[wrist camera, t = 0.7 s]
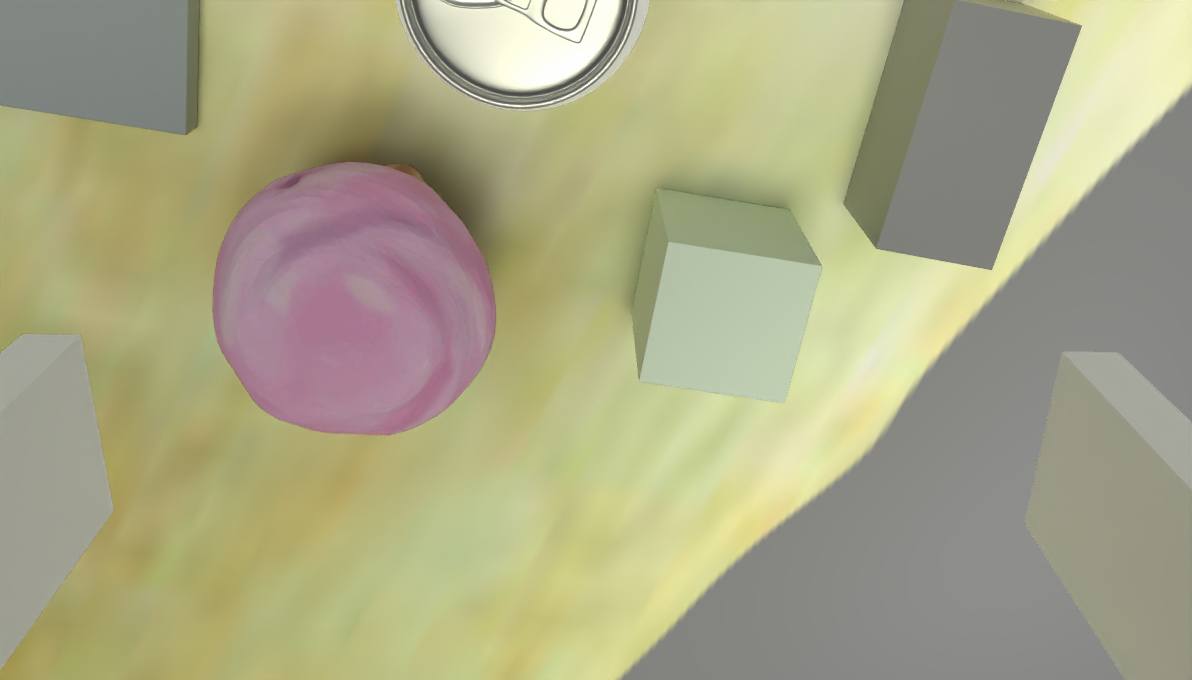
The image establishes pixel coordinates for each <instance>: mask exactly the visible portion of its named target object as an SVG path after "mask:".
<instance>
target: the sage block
mask: <svg viewBox="0 0 1192 680" xmlns="http://www.w3.org/2000/svg"><path fill="white" fill-rule="evenodd" d="M821 268H822V265H821V263H820V262H819V260H818V258H817V256H816V255H815V253H814V251H813V250H812V248H811V246H810V244H809V243H808V241H807V239H806V237H805V236H804V234H803V232H802V230H801V229H800V227H799V225H798V223H797V222H796V220H795V218H794V217H793V215H792V213H791V211H790V210H789V209H783V208H777V207H771V206H765V205H758V204H752V203H746V202H740V201H734V200H728V199H722V198H716V197H709V196H703V195H697V194H691V193H685V192H679V191H673V190H667V189H660V188H656V193H655V198H654V203H653V208H652V213H651V218H650V223H649V228H648V232H647V237H646V242H645V247H644V252H643V257H642V262H641V267H640V272H639V277H638V282H637V287H636V292H635V297H634V302H633V307H632V321H633V331H634V340H635V349H636V358H637V367H638V376H639V382H643V383H650V384H657V385H664V386H671V387H677V388H684V389H691V390H698V391H704V392H711V393H718V394H725V395H731V396H738V397H745V398H752V399H758V400H765V401H772V402H779V403H785V400H786V397H787V393H788V389H789V386H790V382H791V378H792V375H793V371H794V367H795V364H796V360H797V356H798V353H799V349H800V345H801V342H802V338H803V334H804V331H805V327H806V323H807V320H808V316H809V312H810V309H811V305H812V301H813V298H814V294H815V290H816V287H817V283H818V279H819V276H820V272H821Z"/></svg>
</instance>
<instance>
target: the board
mask: <svg viewBox="0 0 1192 680" xmlns="http://www.w3.org/2000/svg"><path fill="white" fill-rule="evenodd" d="M199 6H200V0H0V105H2V106H8V107H15V108H21V109H27V110H33V111H39V112H45V113H52V114H58V115H64V116H70V117H76V118H83V119H89V120H95V121H101V122H107V123H113V124H120V125H126V126H132V127H138V128H144V129H151V130H157V131H163V132H169V133H175V134H181V135H187V134H188V133H189V132H191V131H192V130H193V129H195V128H196V127H197V99H198V53H199Z"/></svg>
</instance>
